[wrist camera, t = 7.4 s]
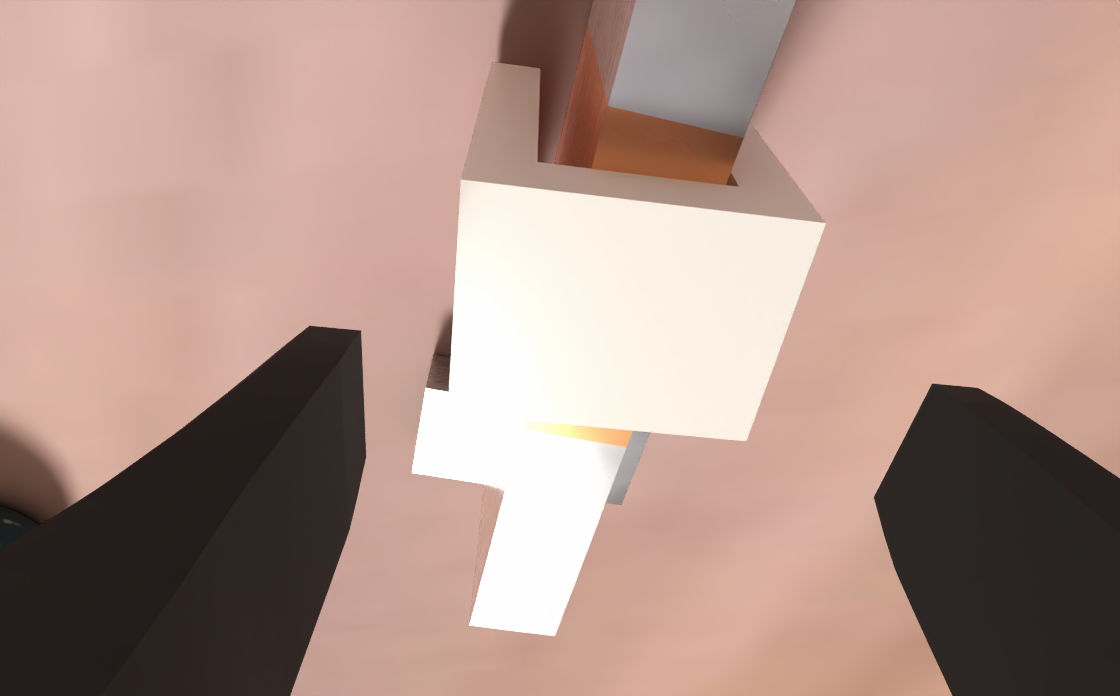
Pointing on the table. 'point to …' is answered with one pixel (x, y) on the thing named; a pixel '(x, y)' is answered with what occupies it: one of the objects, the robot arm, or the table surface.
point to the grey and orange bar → (621, 146)
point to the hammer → (13, 526)
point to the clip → (619, 282)
